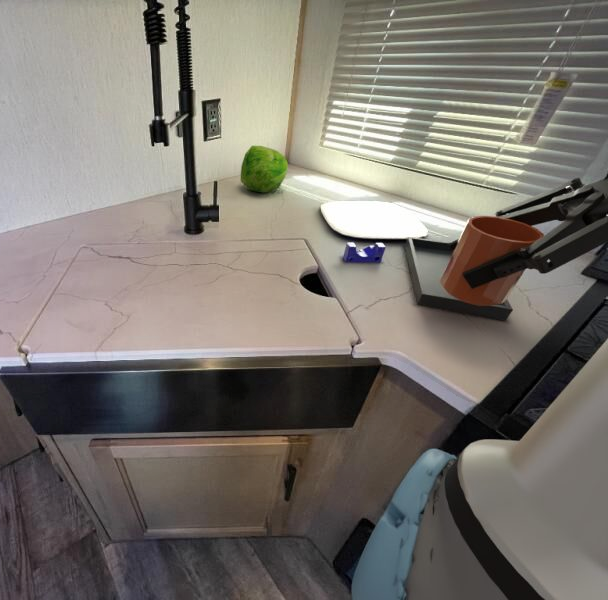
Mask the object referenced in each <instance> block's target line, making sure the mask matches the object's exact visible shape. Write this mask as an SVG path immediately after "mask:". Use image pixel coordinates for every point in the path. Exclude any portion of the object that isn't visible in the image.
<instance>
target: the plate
mask: <svg viewBox="0 0 608 600" xmlns="http://www.w3.org/2000/svg"><path fill="white" fill-rule="evenodd" d="M319 209H320V212H321V215H322V216H323V219H324V220H325V222H326V223H327V225H329V227H330V228H331V229H332V231H335V232H336V233H337V234H340V235H342V236H345V237H350V238H354V239H363V240H390V241H391V240H392V241H393V240H398V241H399V240H401V241H403V240H407V238H408V237H414V238H421V239H423V238H424V237H427V236H428V232H429V231H428V229H427V228H426V226H425V225H424V224H423V223H422V222H421V221H420V220H419V219H418V218H417V217H416V216H414V215H413V214H412V213H411V212H410V211H408V210H407V209H406V208H404V207H402V206H399V205H397V204H394V203H389V202H384V201H372V200H371V201H368V200H338V201H337V200H336V201H335V200H334V201H329V202H324V203H322V204H321V206H320V208H319Z"/></svg>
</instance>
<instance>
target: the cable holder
mask: <svg viewBox="0 0 608 600" xmlns="http://www.w3.org/2000/svg"><path fill="white" fill-rule="evenodd" d="M385 250H386V246H385V244H384V243H383V242H375V244H374V245H368V246H367V247H364V248H359V250H358V251H357V246H356V244H355V242H346V245H345V250H344V253H343V256H342V259H343V260H344V262H345V263H378V264H379V263H382V259H383V257H384V254H385Z"/></svg>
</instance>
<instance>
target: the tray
mask: <svg viewBox="0 0 608 600" xmlns="http://www.w3.org/2000/svg"><path fill="white" fill-rule="evenodd" d="M451 242H452V241H451ZM451 242H450V241H443V240H436V239H435V240H434V239H429V238H414V237H408V238H407V239H406V241H405V244H404V250H405V255H406V259H407V263H408V264H407V265H408V269H409V273H410V274H409V275H410V278H411V282H412V287H413V292H414V297H415V300H416V305H417V306H421V307H427V308H432V309H433V308H434V309H439V310H443V311H444V310H445V311H450V312H455V313H461V314H466V315H471V316H477V317H482V318H488V319H494V320H499V321H504V322H505V321H507V320H508V318H509V317H510V315H511V314H512V312H513V311H514V309H513V307H512V305H511V304H510V301H509V300H508V298H507V299H506V301H504V302H503V303H501V304H497V305H490V306H481V305H474V304H470V303H467V302H464V301H461V300H459V299H457V298H455V297H453V296H452V295H450V294H449V293H448V292H447V291H446V290H445V289H444V288H443V286H442V285H441V283H440V279H441V276H442V274H443V272H444V270H445V268H446V266H447V263H448V261H449V259H450V257H451V255H452V253H453V250H452V249H451V247H450V246H449V243H451Z"/></svg>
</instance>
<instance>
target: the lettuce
mask: <svg viewBox="0 0 608 600" xmlns="http://www.w3.org/2000/svg"><path fill="white" fill-rule="evenodd" d="M240 167H241V168H240V182H241V184H243V185H244V186H245V187H246V189H248V190H250V191H254V192H257V193H263V194H266V193H270V192H272V191H274V190H276V189H279V188H280V187H281V185H282V183H283V181H284V180H285V179H286V175H287V173H288V169H289V164H288V161H287V159H286V157H285V155H283V154H282V153H281V152H279V151H278V150H275V149H273V148H271V147H267V146H264V145H251V146H250V147H249V149H248V150H247V151H246V152H245V153H244V157H243V159H242V163H241V166H240Z"/></svg>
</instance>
